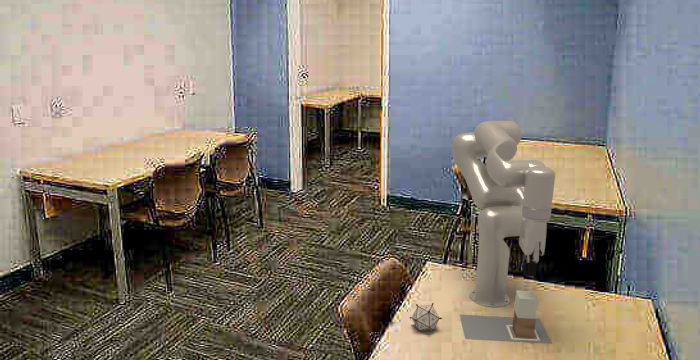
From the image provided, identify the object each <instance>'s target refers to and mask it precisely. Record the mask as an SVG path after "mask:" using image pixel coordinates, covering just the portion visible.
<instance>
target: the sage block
mask: <svg viewBox="0 0 700 360" xmlns="http://www.w3.org/2000/svg"><path fill="white" fill-rule="evenodd" d="M538 303H539V299H538V297H537V295H536V292H535V291H534V290H515V298H514V305H513V306H514V307H513V309H514V310H515V313H516V315H517V318H529V319H536V318H537V313H538V312H537V310H538ZM514 310H513V311H514Z"/></svg>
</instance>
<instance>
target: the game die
mask: <svg viewBox="0 0 700 360" xmlns="http://www.w3.org/2000/svg"><path fill="white" fill-rule="evenodd" d="M434 303H435V302H431V304H428V305H418V304H417V303H415V306H416V308H415V311H414V312H413V315H412V316H409V317H408V319H410V320H411V319H412V321H413V323H414V325H415V327H416V329H417V331H418V332H422V331H424V332H425V331H434V329H436V326H437V324H438V322H439V320H443V317H440V316H439V315H438V313H437V311H436V309H435V308H434Z"/></svg>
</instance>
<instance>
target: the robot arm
mask: <svg viewBox="0 0 700 360" xmlns="http://www.w3.org/2000/svg"><path fill="white" fill-rule="evenodd" d="M521 140H522V129H521V127H520V126H519V124H518V123H517V122H515V121H513V120H485V121H482V122H480V123H479V124H477V125H476V127H475V128H474V130H473V132H472V131H471V132H469V131H468V132H464V133H463V132H462V133H460V134H458V135H456V136H455V137H454V138H453V140H452V142H451V152H452V157H453V161H454V163H455V165H456V168H457V169H458V171H459V172H460V173H461V175H462V176H463V178H464V179H465V182H466V185H467V187H468V190H469V192H470V195H471V197H472V201H473V202H474V204H475V206H476V207H477V208H478V209H481V210H480V212H479V213H478V217H477V225H478V226H477V227H478V251H477V252H478V253H477V254H478V255H477V264H476V275H475V287H474V288H475V289H474V290H472V291H470V293H469V299H470V300H471V301H472V302H474V303H475V304H477V305H479V306H482V307H485V308H486V307H487V308H492V309H493V308H504V307H506V306H508V305H509V304H510V301H511V299H510V297H509V295H508V294H506V292H507V285H508V284H507V283H508V282H507V281H508V274H509V273H508V272H509V263H510V262H509V261H510V248H509V246H508V244H507V242H505V240H504V239H505V238H508V237H519V239H518V245H519V247H520V249H521V250H522V252H523V254H524V260H523V269H522V274H523V275H524V276H525V277H526V276H527V277H528V276H529V277H535V276H536V275H537V270H538V262H539V261H540V257H543V256H544V255H545V251H546V250H545V249H546V239H547V229H548V228H547V223H548V221H550V220H551V216H552V215H551V214H552V208H553V207H552V206H553V196H554V190H555V182H556V181H555V180H556V173H555V170H554V169H552V168H551V167H547V166H546V165H545V164H544V163H543V162H542V161H541V160H537V159H519V160H518V159H516V160H515V159H514V160H512V159H513V158H514V157H515V156H516V154H517V151H518V145H519V144H520V142H521ZM478 158H486V163H484V162H482V161H481V160H479V159H478Z"/></svg>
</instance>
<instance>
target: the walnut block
mask: <svg viewBox="0 0 700 360" xmlns="http://www.w3.org/2000/svg"><path fill="white" fill-rule="evenodd" d="M512 316H513V326H512V329H513V331H514V334H515V336H516V337H525V338H534V332H535V323H536V319H529V318H517V315H516V313H515V310H513V315H512Z"/></svg>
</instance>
